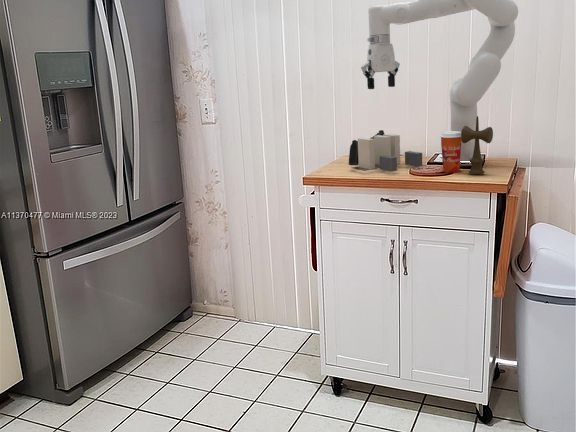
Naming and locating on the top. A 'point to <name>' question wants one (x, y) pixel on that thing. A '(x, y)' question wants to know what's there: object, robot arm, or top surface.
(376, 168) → the shelf board
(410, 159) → the grey book
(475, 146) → the kendama
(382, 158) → the grey book
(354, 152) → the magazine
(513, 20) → the robot arm
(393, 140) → the white book
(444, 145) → the paper cup
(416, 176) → the top surface
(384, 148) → the white book
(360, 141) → the white book
